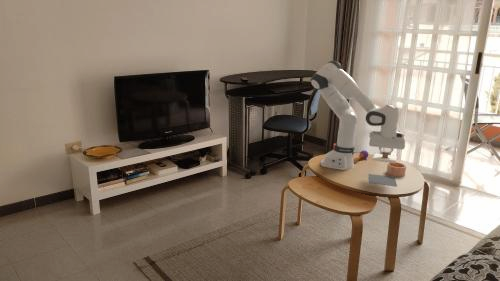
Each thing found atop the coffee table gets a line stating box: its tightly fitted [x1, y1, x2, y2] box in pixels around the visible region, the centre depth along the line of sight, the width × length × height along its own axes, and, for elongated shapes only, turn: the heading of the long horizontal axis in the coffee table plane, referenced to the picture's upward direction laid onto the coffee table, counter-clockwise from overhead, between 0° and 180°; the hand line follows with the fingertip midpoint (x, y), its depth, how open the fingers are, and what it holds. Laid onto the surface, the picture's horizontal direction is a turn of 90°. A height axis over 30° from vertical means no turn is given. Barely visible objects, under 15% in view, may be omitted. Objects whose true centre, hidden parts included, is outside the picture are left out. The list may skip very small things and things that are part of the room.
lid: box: [372, 151, 398, 163], centre depth 231 cm, size 13×13×4 cm
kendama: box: [353, 150, 369, 165], centre depth 271 cm, size 6×6×20 cm
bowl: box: [386, 161, 407, 177], centre depth 247 cm, size 11×11×6 cm
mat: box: [368, 173, 398, 187], centre depth 236 cm, size 16×16×1 cm
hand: (385, 154), depth 231 cm, fingers closed on lid, 3 cm apart
